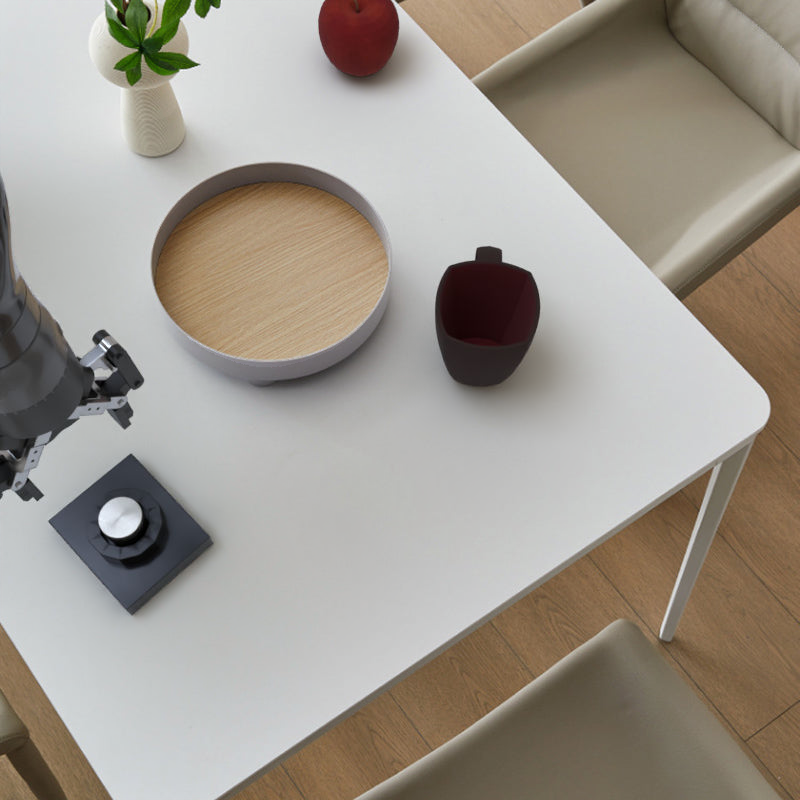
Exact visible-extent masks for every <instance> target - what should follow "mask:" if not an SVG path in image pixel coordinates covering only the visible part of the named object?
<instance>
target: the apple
mask: <svg viewBox="0 0 800 800" xmlns="http://www.w3.org/2000/svg"><path fill="white" fill-rule="evenodd" d="M317 27H318V28H317V29H318V35H319V37H318V38H319V41H320V45H321V48H322V50H323V53H324V54H325V56H326V58H327V59H328V61H329V62H330V64H332V65H333V67H335V68H336V69H337V70H339V71H340V72H342V73H345V74H347V75H350V76H355V77H366V76H370V75H373V74H376V73H377V72H379V71H380V70H382V69H383V68H384V67H385V66H386V65H387V64H388V62H389V61H390V59H391V57H392V56H393V53H394V51H395V48H396V46H397V43H398V39H399V34H400V18H399V13H398V11H397V7H396V6H395V3H394V2H393V0H324V1H323V2H322V4H321V7H320V10H319V13H318V19H317Z"/></svg>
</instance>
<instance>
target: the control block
mask: <svg viewBox="0 0 800 800" xmlns="http://www.w3.org/2000/svg"><path fill="white" fill-rule="evenodd" d="M117 497H128V498H131V499H133V500H135V501H136V502H137V503H138V504H139V506H140V507H141V509H142V510H143V512H144V513H145V515H146V519H147V525H146V529H145V531H144V533H143V534H142V536H141V537H140V538H139V539H137V540H136V541H134V542H132V543H130V544H125V545H120V544H116V543H113V542H112V541H110V540H109V539H108V538H107V537H106V535H105V534H104V533H103V532H102V530H101V529H100V527H99V523H98V517H99V513H100V511H101V509H102V507H103V506H104V505H105V504H106V503H107V502H108V501H110V500H112V499H114V498H117ZM47 523H49V525H50V526H51V527H52V528H53V529H54V530H55V531H56V533H57V534H58V535H59V537H61V538H62V539H63V540H64V541H65V543H66V545H68V546H69V547H70V548H71V550H72V551H73V552H74V553H75V554H76V555H77V556H78V558H79V559H80V560H81V561H82V562H83V563H84V564H85V566H87V568H88V569H89V570H90V572H92V573H93V575H94V576H95V577H96V578H97V579H98V580H99V581H100V582H101V584H102V585H103V586H104V587H105V588H106V589H107V591H108V592H110V594H111V595H112V596H113V597H114V599H115V600H116V601H117V602H118V603H119V604H120V606H122V608H124V610H125V611H126V612H127V613H128V614H129V615H130V616H133V615H134V614H135V613H137V612H138V611H139V610H140V609H141V608H142V607H144V605H146V604H147V603H148V602H149V601H150V600H151V599H153V597H155V596H157V594H158V593H160V592H161V591H162V590H163V589H164V588H165V587H166V586H168V585H169V583H171V581H173V580H174V579H175V578H176V577H178V575H180V574H182V572H183V571H184V570H186V568H188V567H189V565H191V564H192V563H193V562H194V561H196V560H197V559H198V558H199V557H200V556H201V555H203V553H205V552H206V551H207V550H208V549H210V547H211V546H212V545H213V544H214V541H213V539H212V538H211V536H210V535H209V534H208V533H207V532H206V531H205V529H204V528H203V527H202V526H201V525H200V524H199V523H198V522H197V521H196V520H195V519H194V517H192V516H191V515H190V514H189V512H188V511H187V510H186V509H185V508H184V507H183V506H182V505H181V504H180V503H179V502H178V501H177V500H176V499H175V498H174V497H173V495H171V493H169V491H168V490H167V489H166V488H165V487H164V486H163V485H162V484H161V483H160V482H159V481H158V480H157V478H155V476H154V475H153V474H152V473H151V472H150V471H149V469H147V468H146V467H145V466H144V465H143V464H142V463H141V462H140V460H139V459H137V458H136V456H135V455H134V454H133V453H130V452H129V454H127V455H126V456H125V457H124V458H123V459H121V460H120V461H119V462H118V463H117V464H115V465H114V466H113V467H112V468H111V469H109V471H107V472H106V473H104V474H103V475H102V476H101V477H99V479H97V480H96V481H94V482H93V483H92V484H91V485H90V486H89V487H87V488H86V489H85V490H83V492H81V493H80V494H79V495H78V496H76V497H75V498H74V499H73V500H72V501H70V502H69V503H67V505H65V506H64V507H63V508H62V509H60V511H58V512H57V513H56V514H55V515H53V516H52V517H51V518H50V519H49V520H47Z"/></svg>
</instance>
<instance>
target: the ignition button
mask: <svg viewBox="0 0 800 800" xmlns="http://www.w3.org/2000/svg"><path fill="white" fill-rule="evenodd" d="M98 523H99V527H100V529H101V530H102V532H103V533H104V534H105V535H106V537H107V538H108V539H109V540H110V541H112V542H113V543H116V544H120V545H125V544H130V543H132V542H134V541H136V540H137V539H139V538H140V537H141V536H142V534H143V533H144V531H145V529H146V525H147V519H146V515H145V513H144V512H143V510H142V509H141V507H140V506H139V504H138V503H137V502H136V501H135V500H133V499H131V498H128V497H117V498H114V499H112V500H110V501H108V502H107V503H106V504H105V505H104V506H103V507H102V509H101V511H100V513H99V517H98Z"/></svg>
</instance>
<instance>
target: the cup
mask: <svg viewBox="0 0 800 800" xmlns="http://www.w3.org/2000/svg"><path fill="white" fill-rule="evenodd" d="M538 288H539V287H538V284H537V282H536V279H535V277H534V275H533V273H532V271H530V270H527V269H525V268H523V267H520V266H519V265H516V264H512V263H508V262H504V261H503V250H502V249H501V248H499V247H496V246H493V245H492V246H491V245H484V246H478V247H476V250H475V256H474V259H473V260H464V261H460V262H457V263H453V264H451V265H448V266H447V268H446V269H445V271H444V272H443V274H442V276H441V278H440V280H439V283H438V286H437V289H436V294H435V302H434V322H435V334H436V338H437V343H438V348H439V350H440V354H441V357H442V361H443V363H444V366H445V368H446V370H447V372H448V374H449V375H450V377H451V379H453V380H454V381H455V382H457V383H459V384H461V385H466V386H469V387H477V388H486V387H492V386H496V385H501V383H503V382H505V381H506V380H507V379H509V377H511V375H512V374H514V372H515V371H516V370H517V368H518V367H519V366H520V364H521V363H522V361H524V358H525V357H526V355H527V353H528V351H529V349H530V347H531V345H532V343H533V341H534V338H535V335H536V332H537V329H538V326H539V322H540V316H541V297H540V291H539V289H538Z"/></svg>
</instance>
